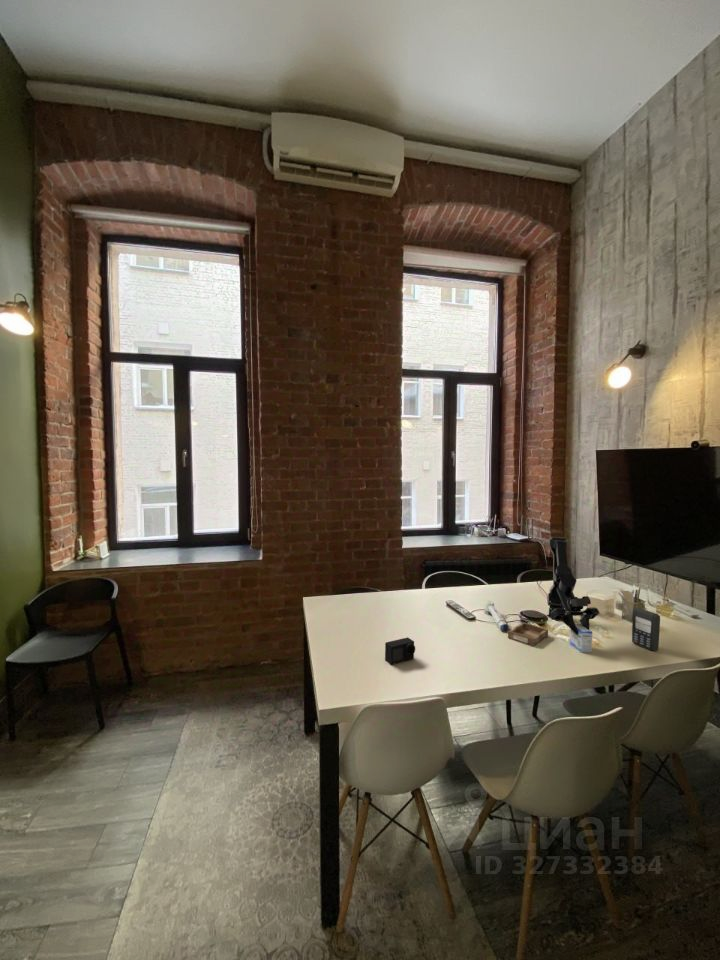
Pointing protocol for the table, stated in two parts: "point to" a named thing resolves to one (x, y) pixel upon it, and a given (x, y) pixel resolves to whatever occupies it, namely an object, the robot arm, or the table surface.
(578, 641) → the medicine box
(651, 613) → the card reader
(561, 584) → the robot arm
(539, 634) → the tray
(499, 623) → the white stick
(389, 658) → the digital camera
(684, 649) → the table surface
